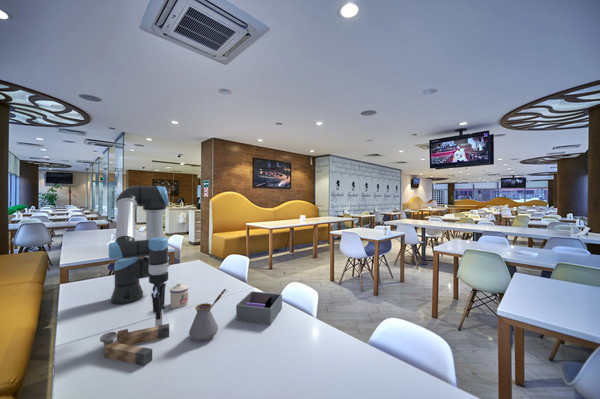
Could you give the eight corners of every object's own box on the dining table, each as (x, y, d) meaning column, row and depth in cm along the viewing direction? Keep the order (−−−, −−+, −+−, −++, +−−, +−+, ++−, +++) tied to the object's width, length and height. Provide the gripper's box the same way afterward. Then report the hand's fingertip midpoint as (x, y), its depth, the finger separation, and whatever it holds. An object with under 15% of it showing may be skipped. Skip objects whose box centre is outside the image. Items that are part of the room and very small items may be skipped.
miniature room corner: (267, 319, 120) (267, 305, 119) (243, 317, 122) (243, 303, 122) (274, 308, 131) (274, 295, 131) (252, 306, 134) (252, 293, 134)
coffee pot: (205, 347, 98) (205, 309, 97) (182, 341, 102) (182, 305, 101) (236, 321, 118) (236, 289, 118) (216, 317, 122) (216, 286, 121)
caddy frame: (236, 320, 118) (236, 305, 118) (251, 304, 135) (251, 291, 135) (270, 325, 114) (270, 309, 114) (282, 308, 131) (282, 294, 131)
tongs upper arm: (98, 356, 92) (98, 340, 92) (102, 347, 98) (102, 332, 97) (168, 340, 102) (168, 326, 102) (169, 332, 108) (169, 319, 108)
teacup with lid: (182, 308, 130) (182, 286, 130) (166, 307, 131) (165, 285, 131) (194, 299, 142) (194, 279, 142) (179, 298, 143) (179, 278, 143)
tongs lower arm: (96, 356, 92) (95, 344, 92) (109, 348, 97) (109, 336, 97) (144, 366, 87) (144, 353, 87) (156, 356, 92) (156, 344, 92)
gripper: (163, 276, 105) (164, 331, 106) (171, 267, 118) (172, 317, 119) (144, 278, 104) (144, 334, 104) (154, 268, 116) (154, 319, 117)
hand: (159, 325), depth 111 cm, fingers closed
